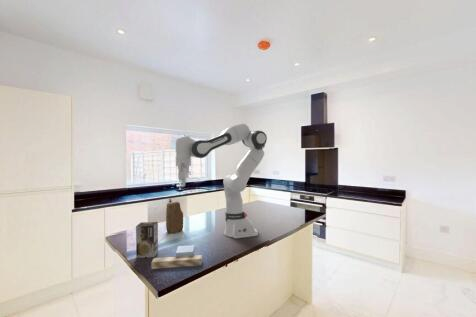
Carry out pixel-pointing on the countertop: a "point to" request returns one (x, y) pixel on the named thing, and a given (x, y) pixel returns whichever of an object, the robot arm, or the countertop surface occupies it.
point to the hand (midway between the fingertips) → (183, 186)
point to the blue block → (185, 251)
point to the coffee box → (146, 239)
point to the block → (174, 218)
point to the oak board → (177, 261)
